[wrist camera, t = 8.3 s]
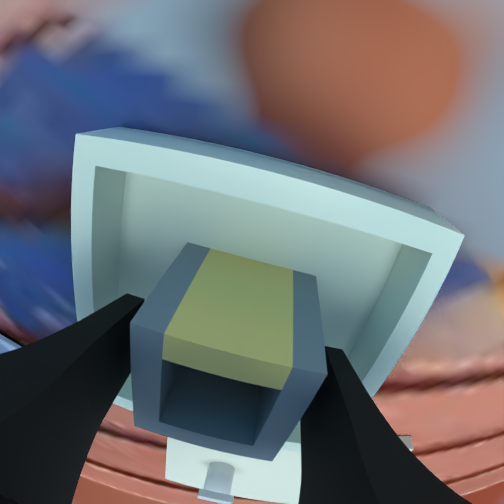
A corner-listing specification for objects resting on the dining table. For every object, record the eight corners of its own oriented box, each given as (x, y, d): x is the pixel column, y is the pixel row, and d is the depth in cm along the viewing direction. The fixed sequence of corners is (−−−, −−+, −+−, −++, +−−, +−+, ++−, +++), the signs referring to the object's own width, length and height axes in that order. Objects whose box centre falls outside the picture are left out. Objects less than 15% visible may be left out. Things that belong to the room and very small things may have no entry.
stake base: (168, 468, 19) (156, 505, 16) (174, 397, 15) (154, 450, 12) (341, 496, 19) (342, 531, 16) (410, 436, 15) (421, 482, 12)
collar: (279, 366, 12) (272, 461, 8) (174, 339, 12) (134, 425, 8) (315, 275, 10) (327, 374, 6) (187, 242, 10) (129, 322, 6)
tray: (112, 358, 14) (89, 393, 12) (119, 126, 10) (76, 133, 7) (323, 413, 14) (325, 455, 12) (430, 207, 10) (464, 235, 7)
